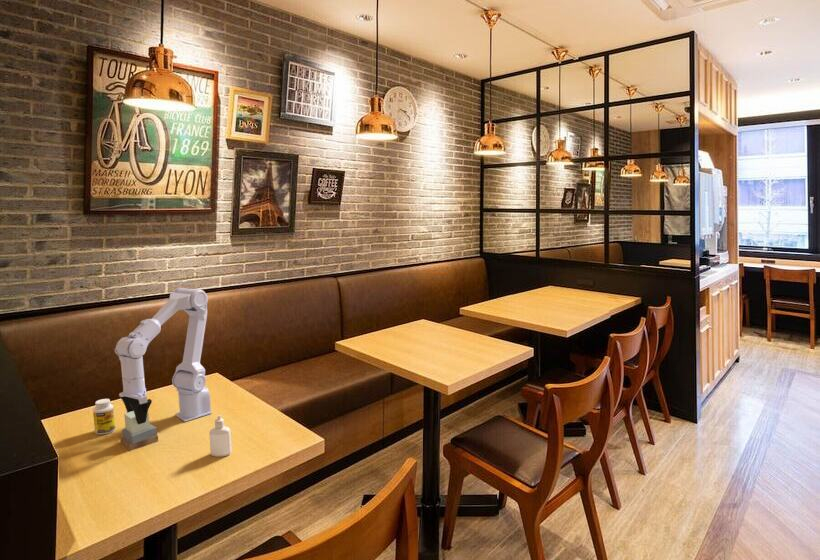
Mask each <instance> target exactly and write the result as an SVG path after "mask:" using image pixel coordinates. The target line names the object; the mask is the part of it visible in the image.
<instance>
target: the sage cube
mask: <svg viewBox="0 0 820 560" xmlns="http://www.w3.org/2000/svg"><path fill="white" fill-rule="evenodd" d="M149 423H150V415H149V412H148V413H147V418H146V422H145V423H142V424H138V423H137V421H136V417H135V414H134V411H131V412H128V413H127V412H126V413H124V424H125V425H124V426H125V428H126V430H128V431H129V432H130V433H131V434H134V433H137V432H140V431H143V430H146V429H149V428H150V425H149Z"/></svg>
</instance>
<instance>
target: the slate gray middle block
mask: <svg viewBox="0 0 820 560" xmlns="http://www.w3.org/2000/svg"><path fill="white" fill-rule="evenodd" d="M149 425H150V428H149V429H146V430H143V431H140V432H137V433H134V434H131V433H130V432H129V431H128V430H126V427H124V428H123V429H121V432H122V435H123V437H124V438H125V439H126V440H128V441H129V442H131V443H132V444H135V443H137V442H140V441H143V440H145V439H148V438H151V437H153V436H156V435H158V432H157V427H156V425H153V424H151V423H150V422H149Z"/></svg>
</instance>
